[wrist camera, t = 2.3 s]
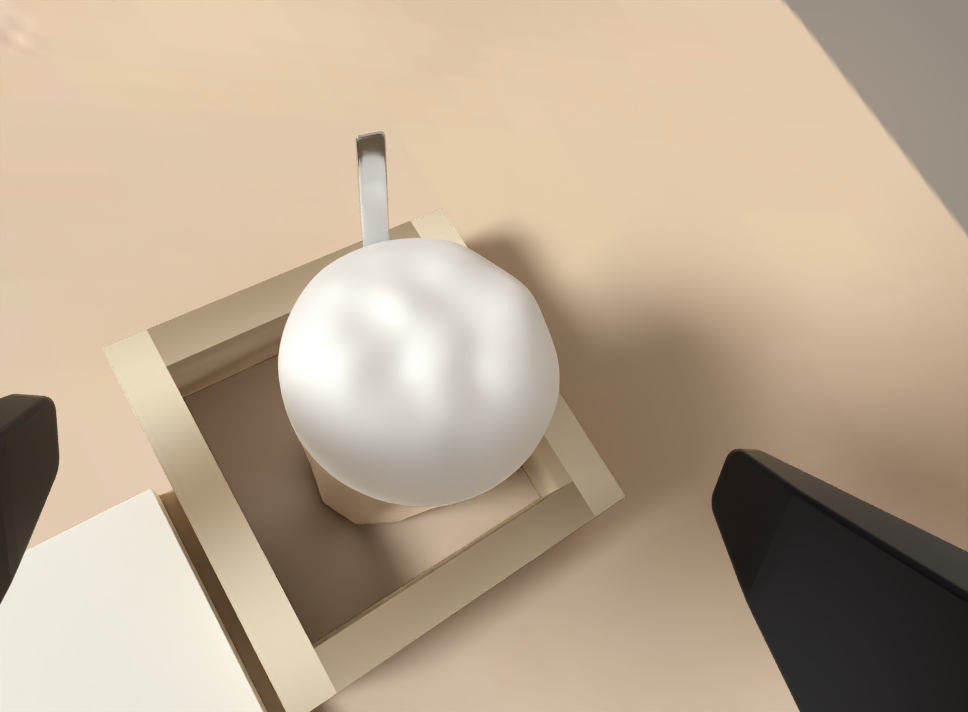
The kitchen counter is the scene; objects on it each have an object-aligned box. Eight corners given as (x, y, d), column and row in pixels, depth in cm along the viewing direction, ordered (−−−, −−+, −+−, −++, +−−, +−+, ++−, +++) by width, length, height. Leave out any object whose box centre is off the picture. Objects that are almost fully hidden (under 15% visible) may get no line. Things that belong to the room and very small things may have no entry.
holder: (588, 510, 20) (625, 496, 17) (293, 708, 16) (292, 723, 14) (426, 251, 21) (442, 207, 19) (126, 382, 18) (101, 348, 16)
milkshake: (412, 337, 20) (507, 107, 11) (481, 513, 19) (654, 415, 10) (253, 384, 19) (212, 161, 9) (318, 580, 17) (343, 538, 8)
